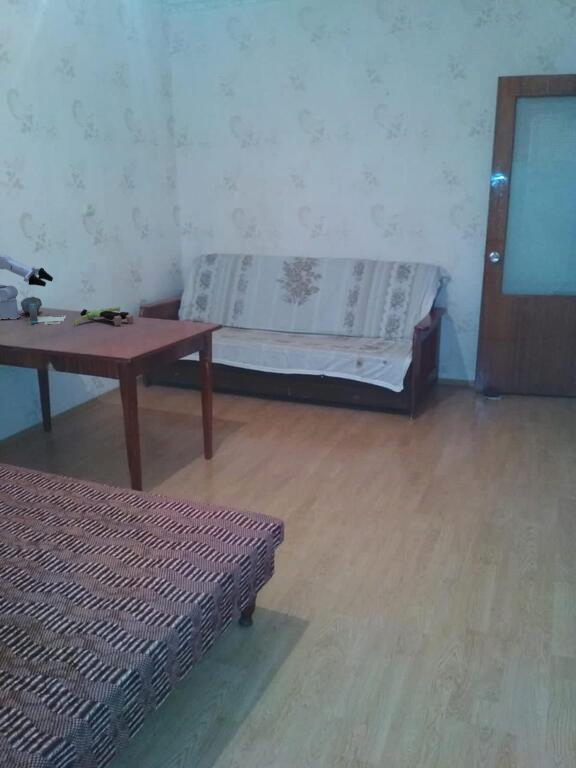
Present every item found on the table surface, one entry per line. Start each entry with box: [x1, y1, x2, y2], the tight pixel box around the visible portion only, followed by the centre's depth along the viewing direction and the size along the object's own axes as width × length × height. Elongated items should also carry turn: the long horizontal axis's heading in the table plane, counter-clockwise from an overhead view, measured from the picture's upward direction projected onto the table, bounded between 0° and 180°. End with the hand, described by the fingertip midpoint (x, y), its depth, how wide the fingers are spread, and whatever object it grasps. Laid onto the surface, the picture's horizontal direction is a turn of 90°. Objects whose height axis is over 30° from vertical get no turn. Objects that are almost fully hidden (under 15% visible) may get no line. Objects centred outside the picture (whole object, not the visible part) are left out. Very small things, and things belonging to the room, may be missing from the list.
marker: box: [29, 304, 39, 325], centre depth 295 cm, size 3×3×10 cm
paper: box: [37, 315, 67, 323], centre depth 307 cm, size 14×13×1 cm
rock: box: [20, 296, 43, 315], centre depth 320 cm, size 16×8×10 cm
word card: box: [43, 321, 61, 326], centre depth 298 cm, size 7×5×1 cm
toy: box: [71, 306, 134, 327], centre depth 302 cm, size 32×7×30 cm
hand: (49, 282), depth 303 cm, fingers open, 7 cm apart
